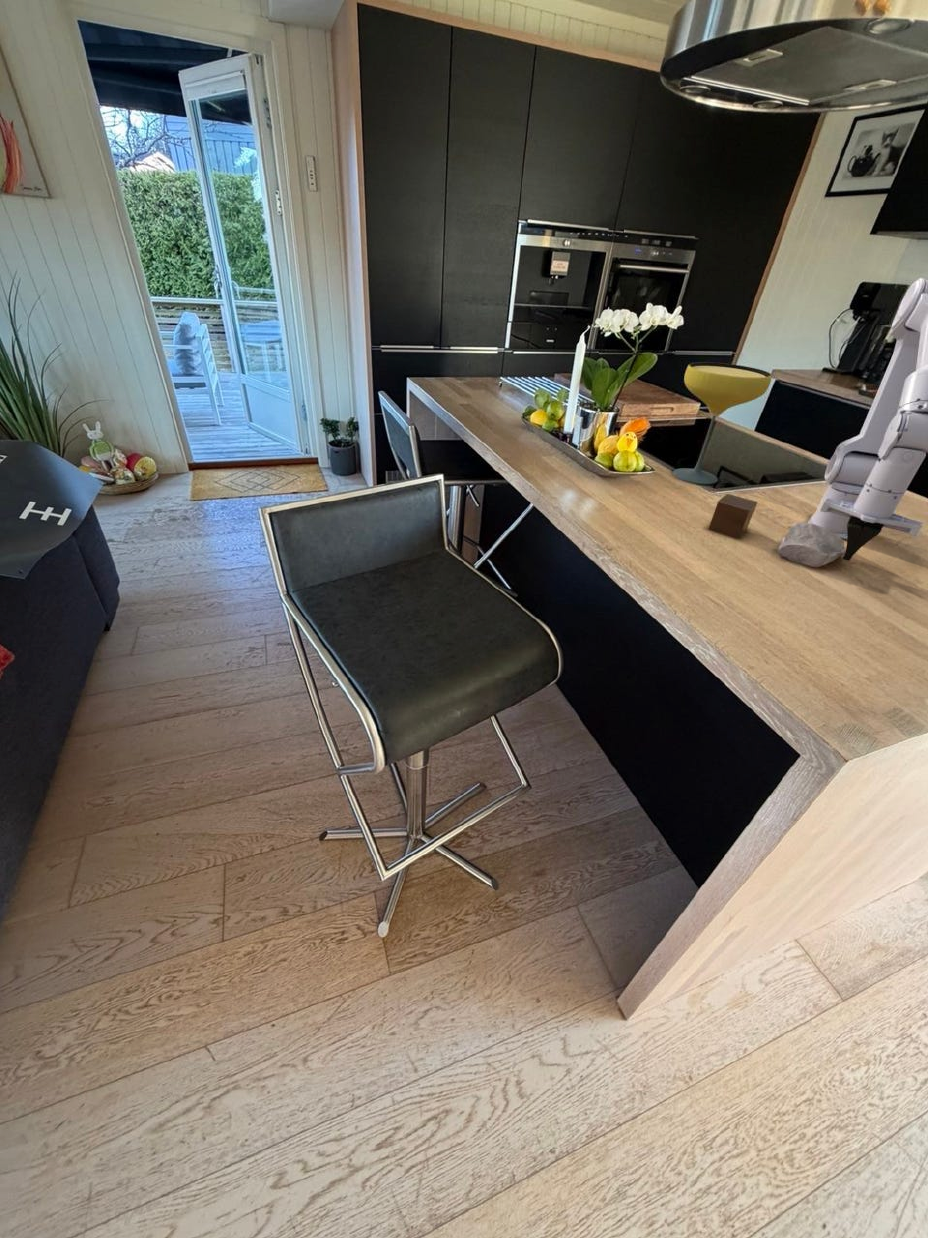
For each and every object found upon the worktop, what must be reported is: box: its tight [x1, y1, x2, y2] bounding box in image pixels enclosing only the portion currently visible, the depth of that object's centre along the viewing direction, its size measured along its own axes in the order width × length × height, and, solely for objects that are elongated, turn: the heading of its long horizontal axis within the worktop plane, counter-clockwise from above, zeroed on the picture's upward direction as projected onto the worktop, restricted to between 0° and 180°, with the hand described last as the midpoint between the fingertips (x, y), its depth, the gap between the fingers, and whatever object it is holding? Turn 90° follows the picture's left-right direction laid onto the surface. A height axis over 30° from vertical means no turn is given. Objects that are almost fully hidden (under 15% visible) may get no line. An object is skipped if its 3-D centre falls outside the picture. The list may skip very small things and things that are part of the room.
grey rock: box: [777, 521, 845, 568], centre depth 99 cm, size 12×5×10 cm
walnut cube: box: [708, 493, 758, 539], centre depth 105 cm, size 6×6×6 cm
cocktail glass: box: [672, 361, 773, 486], centre depth 125 cm, size 18×18×25 cm
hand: (846, 558), depth 96 cm, fingers closed
